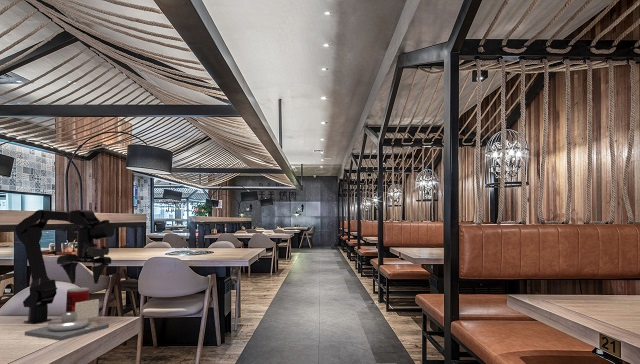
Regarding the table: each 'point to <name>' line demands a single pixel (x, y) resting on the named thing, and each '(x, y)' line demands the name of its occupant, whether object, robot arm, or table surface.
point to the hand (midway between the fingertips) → (85, 283)
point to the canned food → (76, 297)
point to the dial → (76, 316)
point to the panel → (63, 335)
